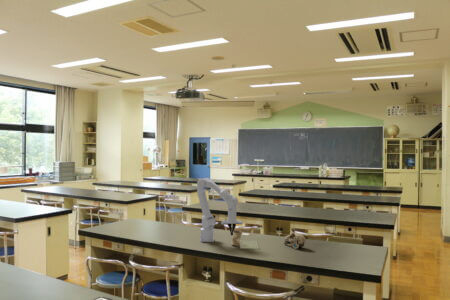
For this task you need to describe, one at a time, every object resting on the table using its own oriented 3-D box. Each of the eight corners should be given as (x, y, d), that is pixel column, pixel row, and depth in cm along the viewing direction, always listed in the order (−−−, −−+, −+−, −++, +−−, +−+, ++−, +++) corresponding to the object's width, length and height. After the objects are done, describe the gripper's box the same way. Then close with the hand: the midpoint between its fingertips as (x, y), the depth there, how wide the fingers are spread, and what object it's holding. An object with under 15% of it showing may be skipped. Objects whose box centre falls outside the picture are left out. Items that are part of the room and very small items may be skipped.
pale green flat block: (239, 248, 225) (240, 246, 225) (238, 240, 245) (238, 238, 245) (259, 248, 225) (259, 246, 225) (256, 241, 245) (256, 239, 245)
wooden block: (231, 244, 231) (234, 231, 232) (231, 241, 239) (234, 228, 240) (238, 246, 231) (241, 233, 231) (238, 243, 239) (241, 230, 239)
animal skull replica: (288, 243, 240) (288, 229, 240) (308, 249, 227) (308, 233, 227) (280, 245, 235) (280, 230, 235) (300, 251, 222) (301, 235, 222)
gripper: (221, 215, 232) (221, 236, 232) (243, 216, 232) (242, 236, 231) (221, 213, 239) (221, 233, 239) (242, 214, 239) (242, 234, 238)
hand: (231, 234), depth 235 cm, fingers closed
